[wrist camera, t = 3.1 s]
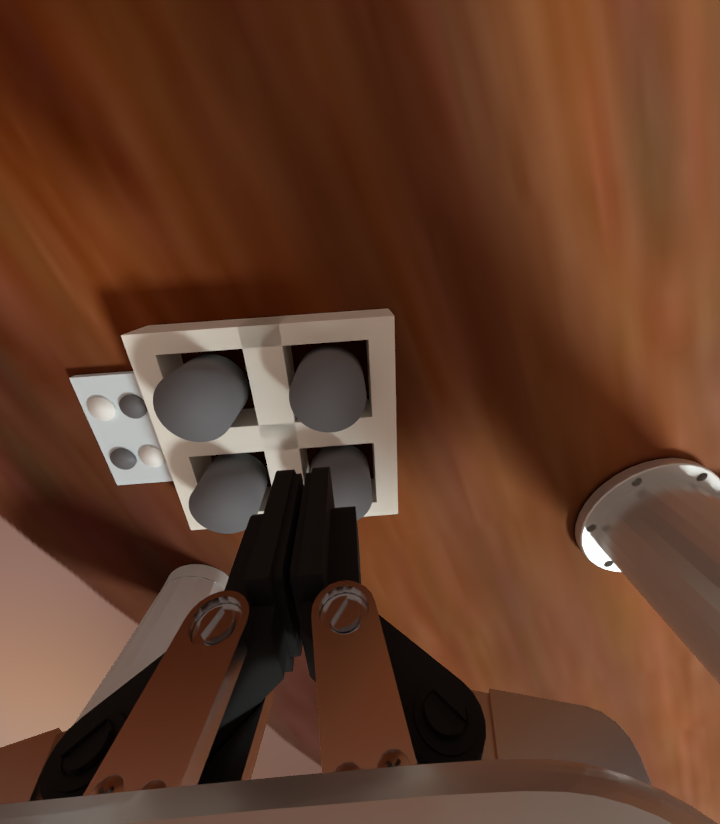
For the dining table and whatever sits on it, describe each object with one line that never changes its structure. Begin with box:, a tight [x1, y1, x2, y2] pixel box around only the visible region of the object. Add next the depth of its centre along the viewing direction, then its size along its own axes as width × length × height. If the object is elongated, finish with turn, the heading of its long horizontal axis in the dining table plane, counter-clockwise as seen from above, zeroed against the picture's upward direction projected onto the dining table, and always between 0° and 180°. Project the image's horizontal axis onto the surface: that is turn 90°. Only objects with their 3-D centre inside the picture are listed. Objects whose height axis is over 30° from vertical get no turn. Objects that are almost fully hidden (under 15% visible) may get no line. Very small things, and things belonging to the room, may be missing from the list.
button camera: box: [153, 354, 249, 442], centre depth 21 cm, size 4×4×4 cm
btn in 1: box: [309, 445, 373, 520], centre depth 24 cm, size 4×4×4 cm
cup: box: [74, 564, 229, 724], centre depth 28 cm, size 8×8×12 cm
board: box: [121, 308, 398, 530], centre depth 24 cm, size 16×15×3 cm
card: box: [69, 371, 173, 485], centre depth 25 cm, size 5×9×1 cm, turn 3°
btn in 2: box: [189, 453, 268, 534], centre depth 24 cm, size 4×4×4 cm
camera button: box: [289, 345, 367, 433], centre depth 21 cm, size 4×4×4 cm
